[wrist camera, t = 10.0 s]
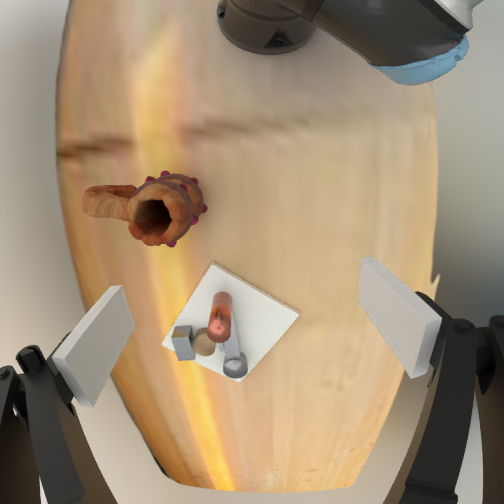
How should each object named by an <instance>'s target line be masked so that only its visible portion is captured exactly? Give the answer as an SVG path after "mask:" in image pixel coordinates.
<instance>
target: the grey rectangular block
mask: <svg viewBox="0 0 504 504" xmlns="http://www.w3.org/2000/svg"><path fill="white" fill-rule="evenodd" d="M171 340H172V343H173V346H174V349H175V352H176V355H177V358H178V361H182V360H195V357H196V352H195V350H194V342H195V337H194V333H193V329H192V325H188V326H175V328H174V331H173V334H172V336H171Z"/></svg>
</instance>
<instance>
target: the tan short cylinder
mask: <svg viewBox="0 0 504 504" xmlns="http://www.w3.org/2000/svg"><path fill="white" fill-rule="evenodd" d="M207 329H208V328H207V327H204V328H201V329H199V330H198V331H197V333H196V338H195V342H194V350H195V352H196V353H197V354H199V355H201V356H210V355H212V354H213V353H214V352H215V347H216V342H213V341H212V340H210V339H209V338H208V336H207Z"/></svg>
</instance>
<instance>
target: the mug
mask: <svg viewBox="0 0 504 504" xmlns="http://www.w3.org/2000/svg"><path fill="white" fill-rule="evenodd" d="M197 184H198V180H197V179H196V178H191V179H190V178H188V177H186V176H184V175H181V174H170V173H169V172H168V171H163V172H162V173H161V177H159V178H158V179H155V178H154V177H150V176H148V177H147V178H146V181H145V183H144V184H143V185H142V186H140V187H139V188H138V189H137V188H136V187H135V186H133V185H103V186H94V187H90V188H89V189H87V190H86V191H85V192H84V197H83V210H84V213H86V214H87V215H89V216H93V217H100V218H116V219H121V220H125V221H128V222H129V226H128V229H129V231H130V233H131V234H132V235H133V237H134V238H136V239H137V240H142V241H143V243H144V244H146V245H149V246H154V245H157V246H159V245H161V244H166V245H167V246H169V247H175V245H176V243H177V240H178V239H180V238H181V237H182V236H183V235H184V234H185V233H186V232H187V231H188V230H189V228H190V226H191V225H194V224H196V223H197V222H198V220H199V219H198V217H199V215H200V213H204V212H206V210H207V206H206V205H205V204H203V197H202V193H201V190H200V188H199V187H198V185H197Z"/></svg>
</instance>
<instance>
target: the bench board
mask: <svg viewBox="0 0 504 504" xmlns="http://www.w3.org/2000/svg"><path fill="white" fill-rule="evenodd" d="M218 292H227V293H229V294H230V295H231V297H232V299H233V303H232V306H233V312H234V319H235V325H236V331H237V337H238V342H239V348H240V354H241V355H242V356H244V357H245V358H246V359H247V362H248V372H247V374H248V373H249V372H250V371H251V370H252V369H253V368H254V367H255V365H256V364H257V363H258V362H259V361H260V360H261V359H262V358H263V357H264V355H265V354H266V353H267V352H268V351H269V350H270V349H271V348H272V346H273V345H274V344H275V343H276V342H277V341H278V340H279V338H280V337H281V336H282V335H283V334H284V333H285V332H286V330H287V329H288V328H289V327H290V326H291V324H292V323H293V322H294V321H295V320H296V318H297V317H298V316H299V312H298V311H297V310H295V309H293V308H292V307H290V306H288V305H286V304H285V303H283V302H281V301H279V300H278V299H276V298H274V297H272V296H271V295H269V294H267V293H265V292H264V291H262V290H260V289H258V288H257V287H255V286H253V285H252V284H250V283H248V282H246V281H245V280H243V279H241V278H240V277H238V276H236V275H235V274H233V273H231V272H229V271H228V270H226V269H224V268H223V267H221V266H219V265H218V264H216V263H214V262H212V264H211V265H210V267H209V268H208V270H207V271H206V273H205V275H204V276H203V278H202V279H201V281H200V282H199V284H198V285H197V287H196V289H195V290H194V292H193V293H192V295H191V297H190V298H189V300H188V301H187V303H186V304H185V306H184V308H183V309H182V311H181V312H180V314H179V316H178V317H177V319H176V320H175V322H174V324H173V325H172V327H171V329H170V330H169V332H168V333H167V335H166V337H165V338H164V340H163V342H162V345H163V346H165V347H167V348H169V349H170V350H172V351H174V352H175V349H174V346H173V343H172V340H171V336H172V334H173V331H174V328H175V326H188V325H192V329H193V333H194V337H195V338H196V333H197V331H198V330H199V329H201V328H204V327H207V328H208V323H209V318H210V312H211V307H212V302H213V297H214V295H215V294H216V293H218ZM225 357H226V354H225V351H220V350H219V345H218V343H216V347H215V352H214V353H213V354H212V355H210V356H201V355H199V354H197V353H196V357H195V360H192V361H194V362H196V363H198V364H200V365H202V366H204V367H206V368H208V369H210V370H213V371H215V372H217V373H219V374H221V375H223V376H226V375H225V374H224V372H223V361H224V359H225ZM247 374H246V375H247ZM246 375H245V376H246ZM245 376H244V377H245ZM226 377H227V376H226ZM244 377H242V378H238V379H233V378H230V379H232V380H235V381H237V382H239V383H240V382H241V381H242V379H243V378H244ZM228 378H229V377H228Z"/></svg>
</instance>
